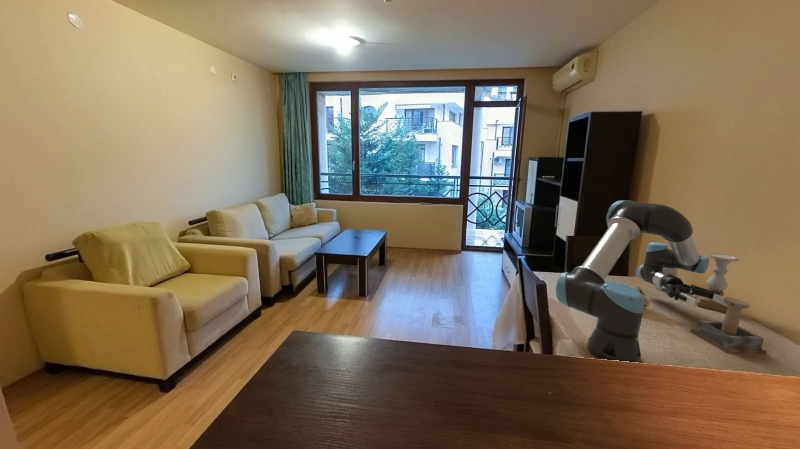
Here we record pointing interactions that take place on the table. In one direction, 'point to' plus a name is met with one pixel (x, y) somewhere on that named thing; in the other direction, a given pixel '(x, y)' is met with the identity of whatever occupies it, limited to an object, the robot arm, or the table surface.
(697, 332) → the socket
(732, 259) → the candle holder
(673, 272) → the coffee cup
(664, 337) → the table surface
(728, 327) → the handle
